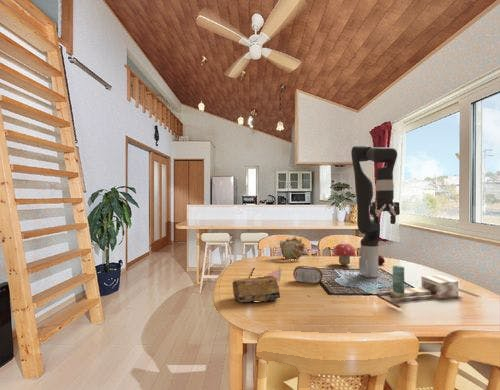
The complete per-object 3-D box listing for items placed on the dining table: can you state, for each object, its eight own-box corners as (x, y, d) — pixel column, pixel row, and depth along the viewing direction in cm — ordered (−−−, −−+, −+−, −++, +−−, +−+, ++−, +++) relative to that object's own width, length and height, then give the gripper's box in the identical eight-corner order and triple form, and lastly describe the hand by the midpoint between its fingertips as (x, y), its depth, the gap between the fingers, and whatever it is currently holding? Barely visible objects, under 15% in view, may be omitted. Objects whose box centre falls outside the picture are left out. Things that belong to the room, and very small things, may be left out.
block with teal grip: (398, 299, 112) (398, 268, 112) (390, 295, 116) (389, 265, 117) (431, 297, 114) (430, 266, 115) (421, 292, 119) (421, 264, 120)
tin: (322, 283, 138) (322, 267, 138) (322, 285, 135) (322, 268, 135) (293, 280, 143) (293, 264, 143) (292, 282, 140) (292, 266, 140)
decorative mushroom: (331, 266, 172) (330, 243, 173) (337, 262, 184) (337, 240, 184) (352, 269, 165) (352, 245, 165) (357, 264, 176) (357, 242, 176)
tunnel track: (398, 307, 107) (397, 287, 107) (376, 296, 120) (376, 278, 120) (481, 299, 115) (480, 281, 115) (452, 289, 128) (452, 273, 128)
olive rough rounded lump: (306, 235, 185) (300, 235, 200) (281, 236, 184) (277, 237, 199) (308, 261, 182) (302, 259, 197) (283, 263, 181) (279, 261, 196)
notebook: (280, 282, 141) (280, 279, 141) (248, 281, 143) (248, 277, 143) (281, 269, 168) (281, 266, 168) (255, 268, 170) (255, 265, 170)
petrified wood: (237, 306, 107) (235, 281, 110) (231, 302, 120) (230, 279, 122) (282, 300, 113) (279, 275, 115) (272, 296, 125) (269, 274, 127)
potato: (372, 262, 183) (372, 253, 183) (385, 264, 178) (385, 255, 178) (369, 264, 178) (369, 255, 178) (383, 266, 172) (383, 257, 173)
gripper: (392, 190, 130) (392, 223, 130) (366, 190, 128) (366, 223, 127) (403, 189, 123) (403, 224, 123) (376, 189, 120) (376, 225, 120)
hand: (384, 224), depth 125 cm, fingers open, 8 cm apart
